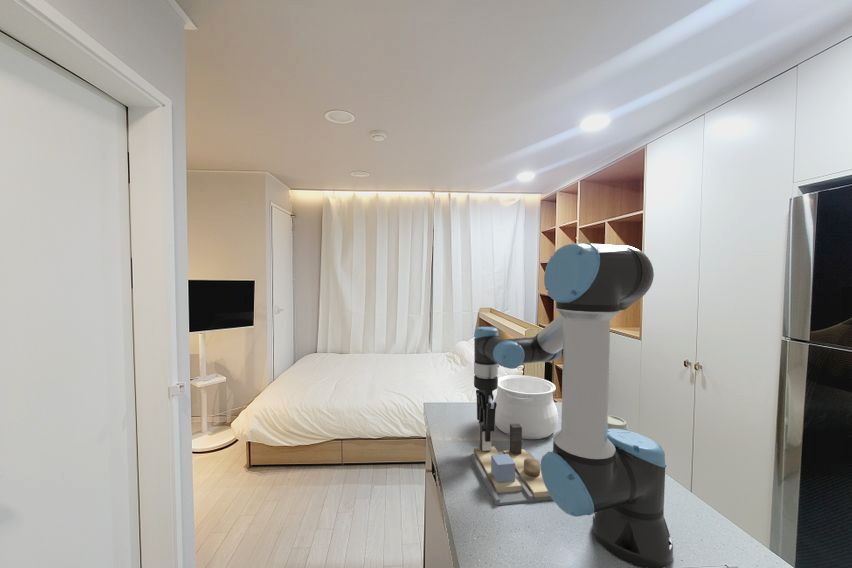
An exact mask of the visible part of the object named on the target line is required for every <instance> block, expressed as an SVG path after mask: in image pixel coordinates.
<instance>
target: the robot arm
mask: <svg viewBox="0 0 852 568" xmlns="http://www.w3.org/2000/svg"><path fill="white" fill-rule="evenodd" d="M654 276H655V275H654V267H653V264H652V261H651V260H650V259H649V257H648V256H647V255H646V254H645V253H644V252H642V250H640V249H638V248H635V247H633V246H631V245H624V244H617V245H616V244H606V243H605V244H603V243H589V242H587V243H586V242H582V243H569V244H565V245H563V246H561V247H559V248H558V249H557V250H555V251H554V253H553V255H552V256H550V258H549V259H548V262H547V264H546V266H545V270H544V276H543V282H544V289H545V290H546V291H547V295H548V297H550V298H551V299H552V300H553V301H555V309H556V311H557V312H558V313H559V315H557V316H556V318H554V319H553V320H552V321H551V322H549V324H547V325H546V327H544V328H543V329H541V331H539V332H538V333H537V334H536V335H535V336H532V337H531V336H530V337H519V338H517V337H516V338H502V337H500V335H499V329H498V328H496V327H493V326H478V327H476V329H475V331H474V338H473V342H474V344H473V345H474V347H473V349H474V351H473V352H474V361H473V374H474V376H473V386H474V388H475V395H476V420H477V421H478V425H479V426H478V427H479V429H478V430H479V431H478V432H479V433H478V437H479V436H480V422H481V421H483V424H484V429H481V430H482V450H483V451H490V450H491V446H492V433H493V432H495V428H496V427H495V426H496V424H495V410H496V405H497V404H496V402H494V400H495V398H494V397H495V395H494V394H493V391H495V390H497V389H498V378H499V377H498V375H499V373H498V372H499V368H500V367H503V368H506V369H510V370H511V369H512V370H514V369H517V368H518V367H519V366H521V365H523V364H533V363H535V364H536V363H550V362H552V361H553V362H554V361H557V360H558V359H560V357H561V354H562V372H561V373H562V375H561V377H562V378H561V379H562V380H561V381H562V382H561V385H562V386H561V428H560V430H557V431H556V432H555V433H554V435H553V439H552V440H553V442H552V445H553V446H552V451H546V453H545V454H544V455H542V456H541V459H540V464H541V474H542V478H543V481H544V484H545V486H546V488H547V490H548V492H549V494H550V496H551V497H552V499H553V500H552V501H553V502H554V503H555V505H556V506H558V508H559V509H560V510H561V511H563V512H564V513H565V514H567V515H569V516H571V517H583V516H591V515H593V516H592V533H593V536H594V537H595V539H596V540H597V542H598V543H599V545H600V546H601V547H603V548H604V550H606V551H607V552H608V553H610V555H613V557H615V558H617V559H619V560H621V561H623V562H625V563H627V564H630V565H632V566H635V567H639V568H666V567H667V566H670V564H671V563H672V561H673V558H674V544H673V541H672V538H671V535H670V531H669V528H668V525H667V522H666V518H665V511H664V509H665V508H664V507H665V485H666V468H667V464H666V453H665V450H664V449H663V447H662V446H661V444H659V443H657V441H655V440H653V439H651V438H649V437H647V436H645V435H642V434H640V433H637V432H634V431H631V430H622V429H607V428H608V415H609V385H610V383H609V381H610V345H611V343H610V340H611V321H612V319H613V318H614V317H615V316H616V315H618V314H619V313H620V312H623V311H625V310H627V309H629V308H631V306H633V305H634V304H635V303H636V302H638V301H640V300H641V299H642V298H643V297H644V296H645V295H646V294H647V293H648V292H649V290H650V289H651V287H652V285H653V282H654Z"/></svg>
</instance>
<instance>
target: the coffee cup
mask: <svg viewBox="0 0 852 568" xmlns="http://www.w3.org/2000/svg"><path fill="white" fill-rule="evenodd" d="M607 429H622V430H627V431H629V426H628V424H627V421H626V420H624V419H623V418H621V417H619V416H616V415H609V414H608V428H607Z"/></svg>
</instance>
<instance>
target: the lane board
mask: <svg viewBox="0 0 852 568" xmlns="http://www.w3.org/2000/svg"><path fill="white" fill-rule="evenodd" d="M524 450H525V451H526V452H527V453H528V454H529V456H530V457H531V458H533V459H536V457H535V456H534V455H533V454H532V453H531V452H530V450H528V449H524ZM498 453H499V454H503V451H498ZM470 459H471V461H472V463H473V465H474V466H475V468H476V471H477V472H478V474H479V476H480V478H481V480H482V482H483V484H484V486H485V488H486V490H487V491H488V493H489V495H490V497H491V499H492V501H493V503H494V505H495V506H503V505H514V504H515V505H516V504H523V503H524V504H525V503H533V502H543V501H554V500H553V499H552V497H551V496H548V497H538V498H534V497H533V495H532V494H531V492H530V491H529V490H528V488H527V487H526V485H525V484H524V483H523V481H522V480H521V478H520V477H519V476H518V474H517V473H516V471H515V477H516V478H517V480H518V481H519V483H520V484H521V486H522V491H514V492H504V493H496V491H495V490H494V488H493V486H492V484H491V483H490V481H489V479H488V477H487V475H486V474H485V472H484V470H483V468H482V467H481V465H480V463H479V461H478V459H477V458H476V456H475V454H474V453H471V455H470ZM540 468H541V463H540Z"/></svg>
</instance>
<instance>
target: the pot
mask: <svg viewBox="0 0 852 568" xmlns="http://www.w3.org/2000/svg"><path fill="white" fill-rule="evenodd" d="M496 390H497V392H496V395H495V398H494V400H493V402H496V404H497V405H496V410H495V426H496V427H497V428H498V429H499V430H500V431H501V432H503V433H505V434H507V435H509V436H510V424H520V425H521V427H522V440H523V439H524V440H541V439H545V438H547V437H550V436H551V435H552V434H553V433H554V432H556V430H557V427H558V426H559V413H558V409H557V406H556V404H555V400H554V396H553V395H554V392H555V391H556V390H557V388H556V385H555V384H554V383H553V382H551V381H549V380H547V379H545V378H544V379H543V378H541V377H536V376H531V375H524V374H523V375H522V374H521V375H520V374H509V375H504V376H500V377H498V388H497V389H496Z"/></svg>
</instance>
